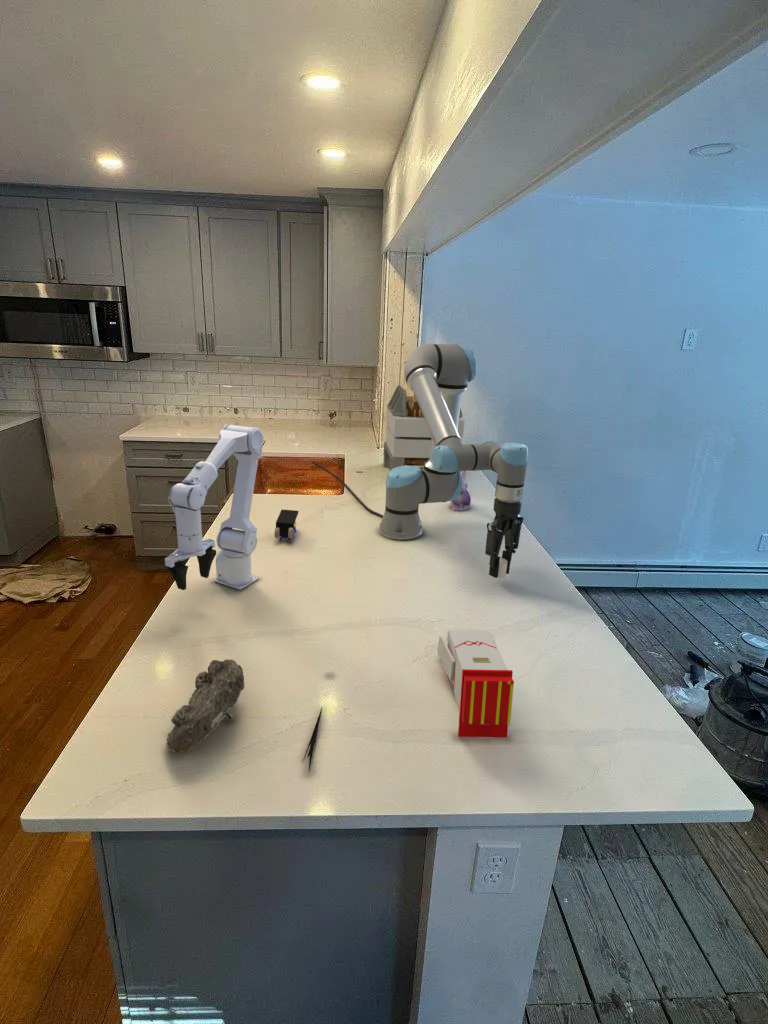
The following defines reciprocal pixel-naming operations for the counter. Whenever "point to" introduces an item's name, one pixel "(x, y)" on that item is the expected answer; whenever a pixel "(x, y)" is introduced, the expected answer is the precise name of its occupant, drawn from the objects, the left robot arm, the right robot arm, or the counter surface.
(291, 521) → the black wheeled cart
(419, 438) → the white slatted crate
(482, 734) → the toy
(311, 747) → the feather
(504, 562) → the can
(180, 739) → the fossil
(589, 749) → the counter surface
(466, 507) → the figurine
